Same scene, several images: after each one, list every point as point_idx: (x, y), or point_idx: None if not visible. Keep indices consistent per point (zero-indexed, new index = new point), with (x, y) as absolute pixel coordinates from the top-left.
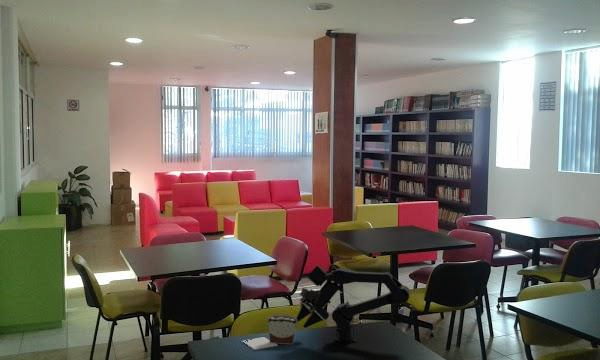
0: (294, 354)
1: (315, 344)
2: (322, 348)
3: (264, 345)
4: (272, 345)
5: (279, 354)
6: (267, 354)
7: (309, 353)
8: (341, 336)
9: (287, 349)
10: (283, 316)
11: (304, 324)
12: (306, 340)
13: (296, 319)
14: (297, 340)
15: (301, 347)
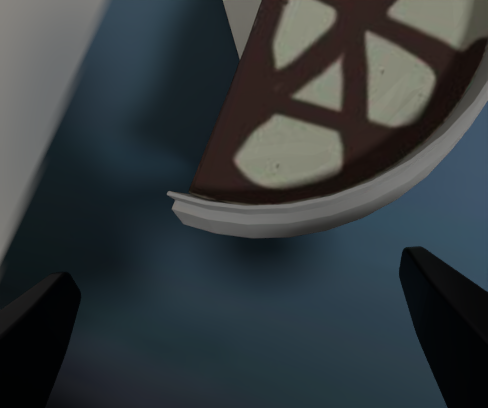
0: (38, 166)
1: (191, 385)
2: (79, 404)
3: (258, 3)
4: (240, 53)
5: (74, 77)
6: (101, 10)
7: (17, 268)
8: None
9: (149, 143)
10: None
11: (35, 290)
12: (320, 345)
13: (171, 192)
14: (340, 269)
15: (157, 250)
